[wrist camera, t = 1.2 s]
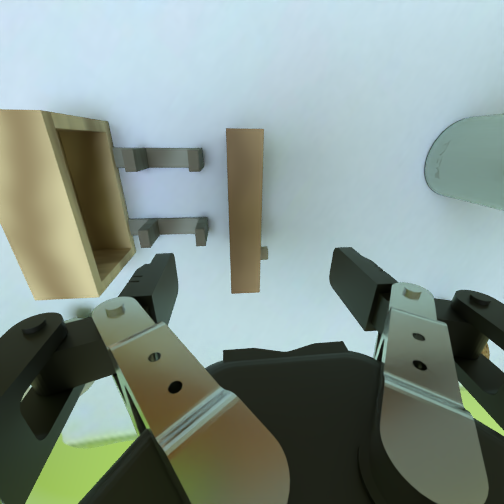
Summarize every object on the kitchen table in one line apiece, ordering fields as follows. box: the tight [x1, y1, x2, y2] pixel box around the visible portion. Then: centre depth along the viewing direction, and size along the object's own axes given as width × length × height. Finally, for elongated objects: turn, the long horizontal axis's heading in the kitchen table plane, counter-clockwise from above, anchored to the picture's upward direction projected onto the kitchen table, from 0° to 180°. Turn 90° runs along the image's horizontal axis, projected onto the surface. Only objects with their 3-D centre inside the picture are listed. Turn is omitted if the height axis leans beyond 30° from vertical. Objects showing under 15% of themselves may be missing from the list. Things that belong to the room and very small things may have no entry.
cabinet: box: [0, 109, 208, 300], centre depth 24 cm, size 15×15×10 cm
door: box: [226, 128, 268, 294], centre depth 24 cm, size 4×13×12 cm, turn 0°
